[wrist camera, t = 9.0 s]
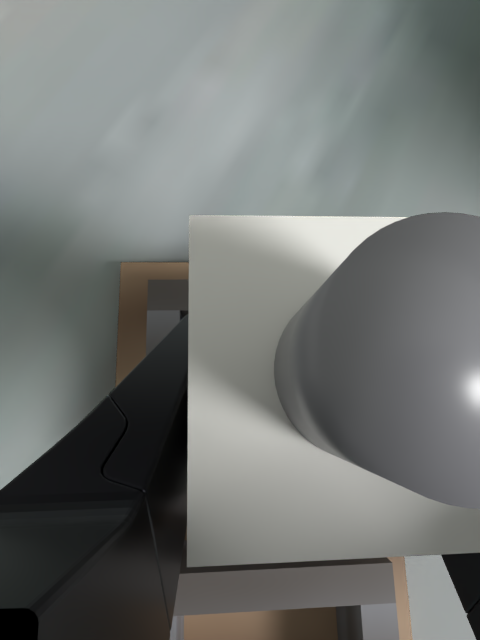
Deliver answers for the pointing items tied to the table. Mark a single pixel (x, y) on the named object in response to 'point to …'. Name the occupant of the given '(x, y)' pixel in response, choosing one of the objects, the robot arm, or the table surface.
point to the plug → (333, 388)
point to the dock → (268, 578)
